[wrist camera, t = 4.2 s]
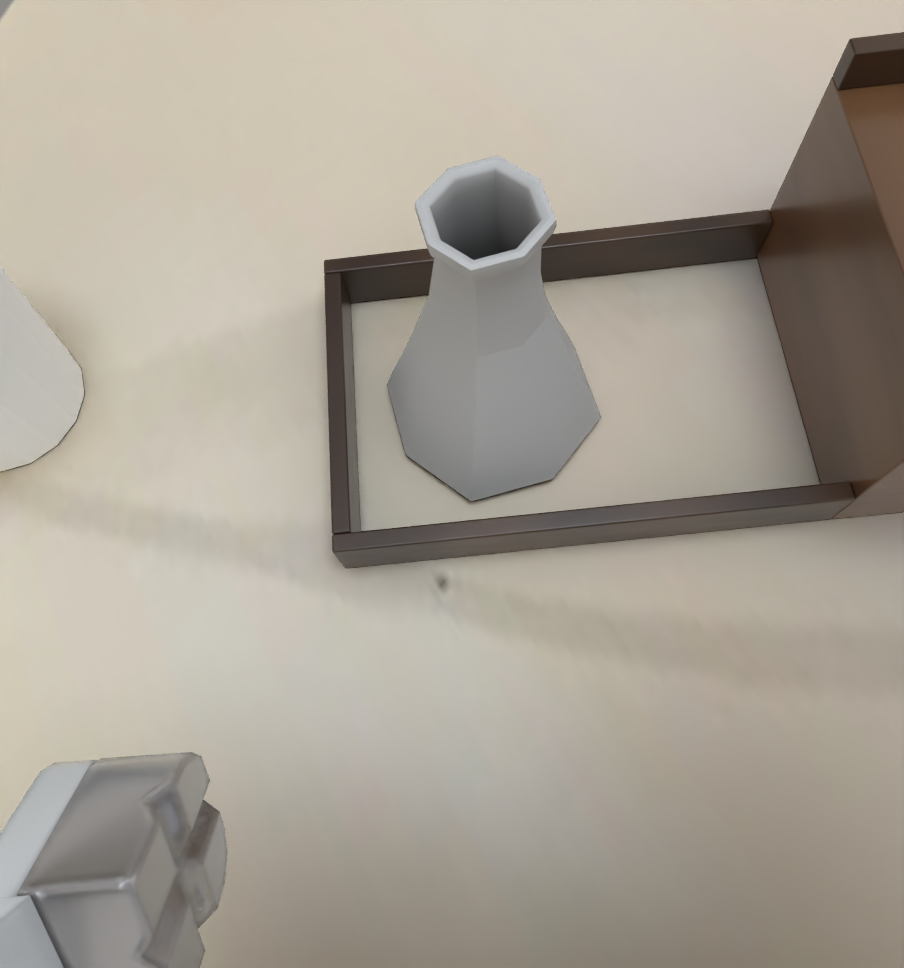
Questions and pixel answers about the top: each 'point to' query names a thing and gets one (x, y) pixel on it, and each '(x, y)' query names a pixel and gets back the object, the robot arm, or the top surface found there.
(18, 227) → the top surface
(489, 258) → the flask
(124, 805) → the robot arm
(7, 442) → the white cup
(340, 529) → the brown block with frame
